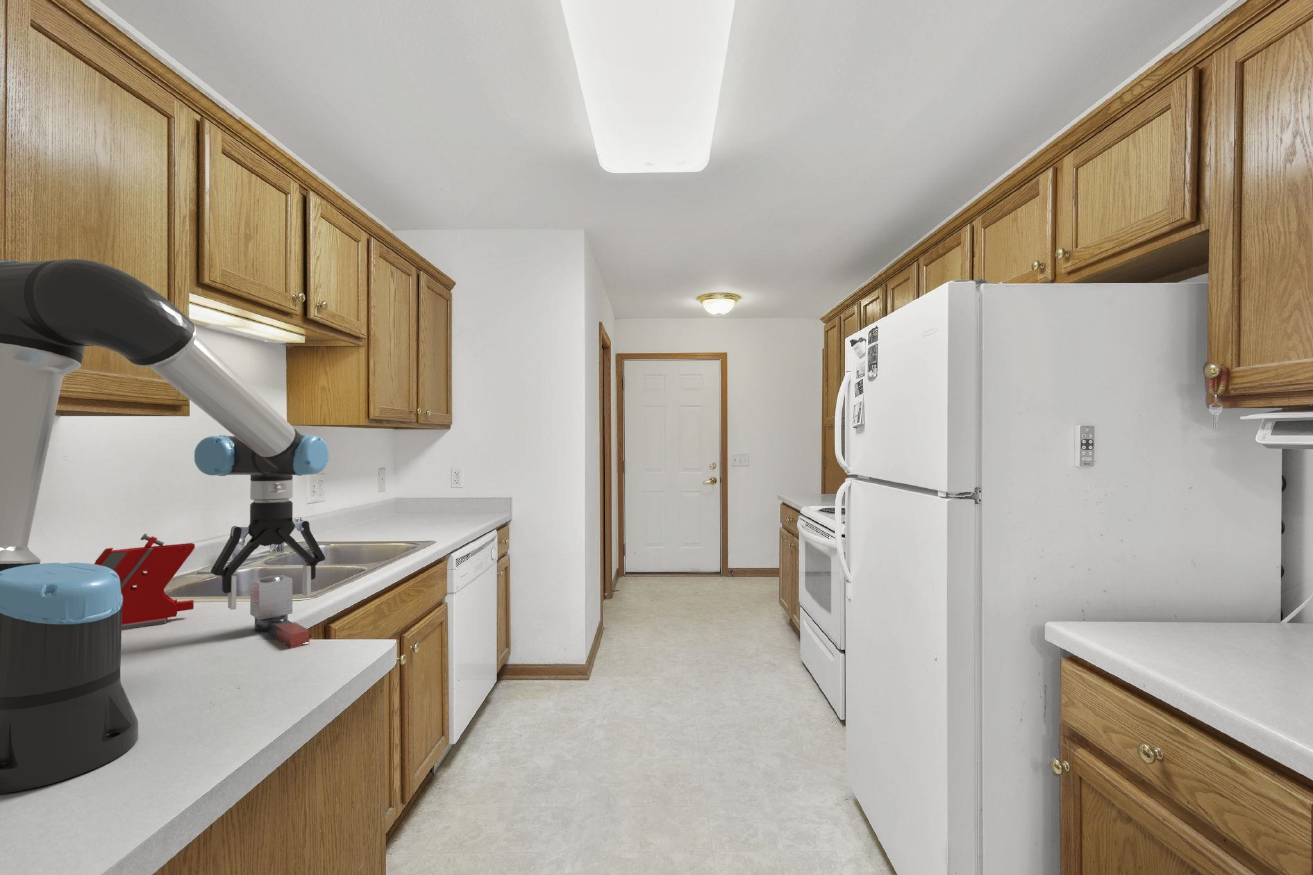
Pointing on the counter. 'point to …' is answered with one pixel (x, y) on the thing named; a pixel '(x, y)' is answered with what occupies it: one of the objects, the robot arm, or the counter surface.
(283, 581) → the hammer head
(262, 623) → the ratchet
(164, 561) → the tool
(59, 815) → the counter surface
